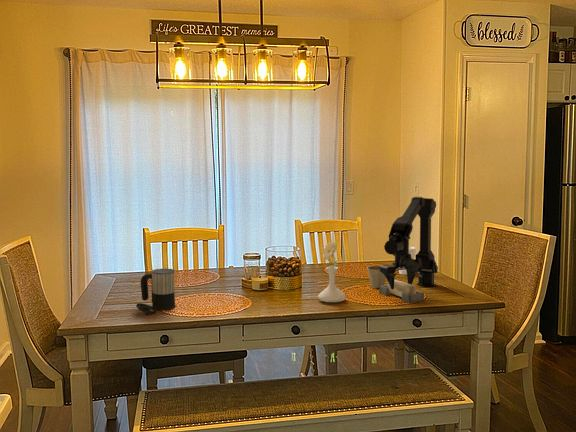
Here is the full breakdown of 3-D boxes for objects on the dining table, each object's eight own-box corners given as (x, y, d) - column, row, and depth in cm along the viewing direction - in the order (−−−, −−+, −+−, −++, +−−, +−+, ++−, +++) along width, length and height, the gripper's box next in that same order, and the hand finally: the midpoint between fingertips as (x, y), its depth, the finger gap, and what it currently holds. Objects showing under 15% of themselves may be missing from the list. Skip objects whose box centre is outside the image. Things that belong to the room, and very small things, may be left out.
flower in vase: (316, 298, 235) (316, 238, 232) (343, 297, 235) (343, 238, 233) (320, 306, 222) (320, 243, 219) (348, 305, 222) (349, 243, 220)
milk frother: (177, 304, 227) (176, 267, 226) (173, 314, 211) (172, 276, 210) (141, 305, 226) (139, 268, 224) (134, 316, 210) (133, 277, 209)
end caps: (393, 291, 246) (393, 283, 245) (423, 300, 229) (423, 293, 229) (379, 293, 242) (379, 285, 242) (409, 303, 225) (409, 295, 225)
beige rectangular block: (394, 291, 242) (394, 279, 242) (416, 298, 230) (416, 286, 230) (387, 292, 241) (387, 280, 240) (408, 299, 228) (408, 287, 228)
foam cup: (392, 273, 284) (392, 247, 282) (404, 270, 289) (405, 245, 288) (406, 276, 276) (406, 249, 275) (419, 273, 281) (419, 247, 280)
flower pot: (387, 289, 249) (387, 270, 248) (366, 288, 251) (366, 269, 250) (388, 284, 258) (388, 266, 257) (367, 283, 260) (367, 265, 259)
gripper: (396, 256, 222) (396, 294, 224) (432, 251, 231) (431, 289, 232) (379, 251, 232) (378, 289, 233) (414, 248, 241) (413, 283, 242)
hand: (401, 287), depth 235 cm, fingers open, 9 cm apart
